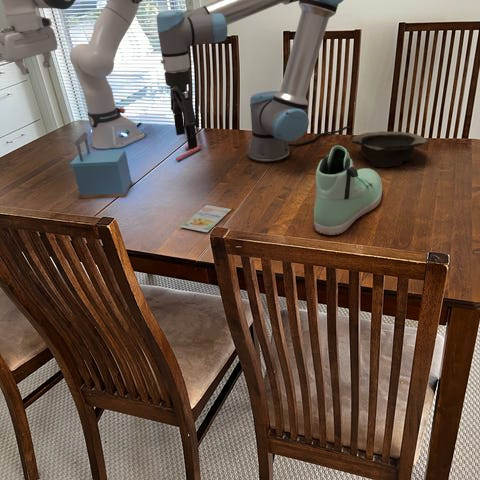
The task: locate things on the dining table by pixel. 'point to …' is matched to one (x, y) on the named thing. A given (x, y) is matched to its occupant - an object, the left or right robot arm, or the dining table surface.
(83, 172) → the chest
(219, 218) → the baking ingredient package
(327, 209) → the sneaker
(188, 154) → the candy cane
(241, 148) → the dining table surface
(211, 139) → the dining table surface
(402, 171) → the dining table surface
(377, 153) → the stone bowl
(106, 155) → the lid
